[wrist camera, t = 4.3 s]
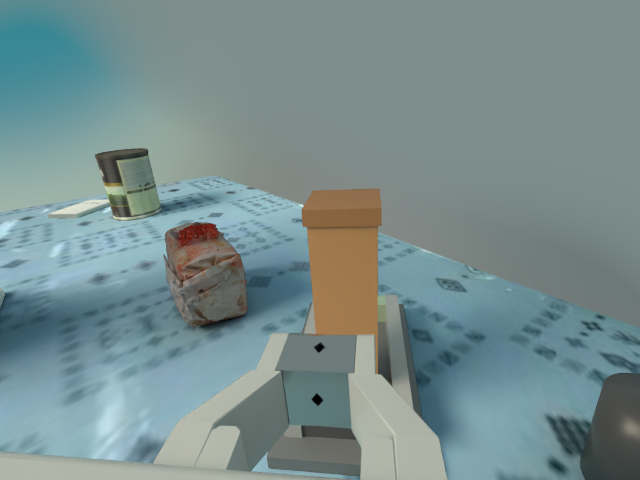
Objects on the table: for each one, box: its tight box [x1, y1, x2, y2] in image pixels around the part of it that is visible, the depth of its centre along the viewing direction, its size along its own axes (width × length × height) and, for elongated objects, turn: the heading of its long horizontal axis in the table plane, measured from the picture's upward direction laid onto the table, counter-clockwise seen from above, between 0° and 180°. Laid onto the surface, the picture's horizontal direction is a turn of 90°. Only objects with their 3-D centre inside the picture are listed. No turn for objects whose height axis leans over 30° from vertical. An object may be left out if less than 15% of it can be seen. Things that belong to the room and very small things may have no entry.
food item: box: [163, 222, 247, 327], centre depth 40 cm, size 14×8×10 cm, turn 30°
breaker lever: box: [302, 189, 381, 374], centre depth 24 cm, size 4×4×15 cm
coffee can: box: [95, 148, 162, 220], centre depth 78 cm, size 10×10×14 cm
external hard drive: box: [47, 200, 110, 218], centre depth 87 cm, size 2×8×12 cm
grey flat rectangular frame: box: [267, 295, 423, 476], centre depth 29 cm, size 18×10×3 cm, turn 173°
